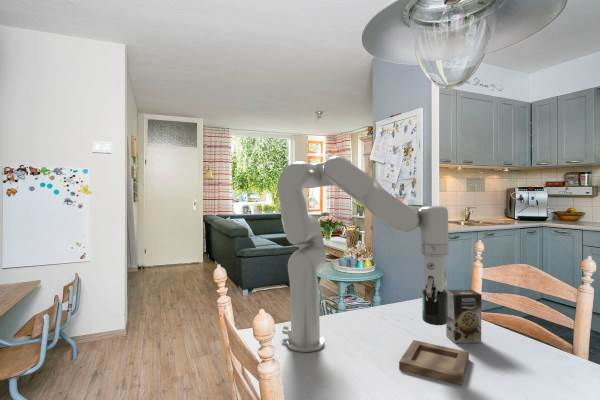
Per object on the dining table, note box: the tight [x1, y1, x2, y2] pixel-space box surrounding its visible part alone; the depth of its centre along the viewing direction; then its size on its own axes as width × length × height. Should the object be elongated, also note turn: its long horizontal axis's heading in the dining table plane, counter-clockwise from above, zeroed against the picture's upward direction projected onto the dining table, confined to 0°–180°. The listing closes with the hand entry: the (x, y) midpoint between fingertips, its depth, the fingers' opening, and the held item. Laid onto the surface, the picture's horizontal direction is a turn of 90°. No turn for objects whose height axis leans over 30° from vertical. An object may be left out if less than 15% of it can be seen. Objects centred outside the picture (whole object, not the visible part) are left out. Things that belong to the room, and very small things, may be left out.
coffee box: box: [445, 289, 483, 344], centre depth 113 cm, size 9×6×16 cm
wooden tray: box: [398, 339, 470, 387], centre depth 98 cm, size 16×16×2 cm
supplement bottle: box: [421, 288, 448, 326], centre depth 97 cm, size 7×7×12 cm
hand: (434, 310), depth 97 cm, fingers closed on supplement bottle, 6 cm apart
